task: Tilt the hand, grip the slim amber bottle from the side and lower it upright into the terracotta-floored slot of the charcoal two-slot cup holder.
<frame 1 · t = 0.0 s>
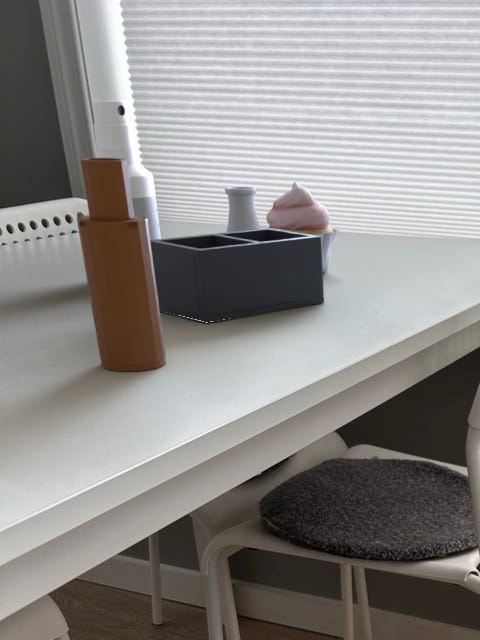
holder: (242, 306, 98), on the table
flask: (248, 284, 110), on the table
bottle: (134, 363, 78), on the table
spray bottle: (135, 283, 108), on the table
cupcake: (301, 272, 118), on the table
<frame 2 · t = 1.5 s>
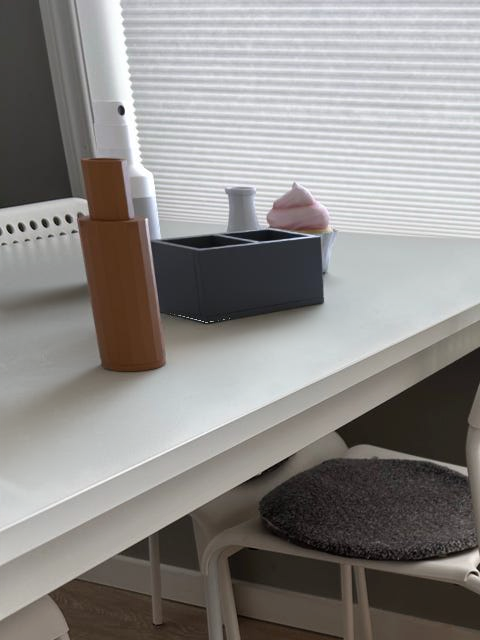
nothing on the table moved.
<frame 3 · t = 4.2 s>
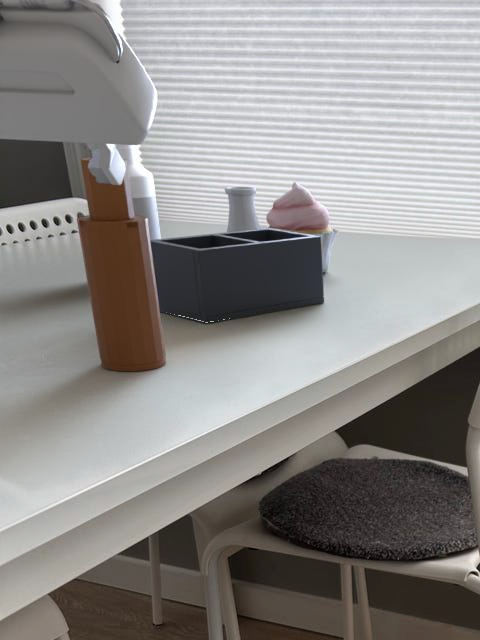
hand: (48, 173, 64), 15 cm above the table, tool tilted 45°, fingers open, 8 cm apart
nothing on the table moved.
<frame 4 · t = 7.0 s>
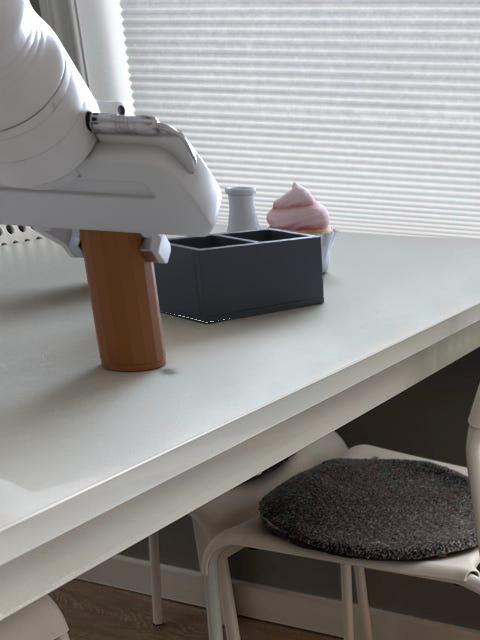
hand: (121, 253, 74), 8 cm above the table, tool tilted 45°, fingers closed on bottle, 5 cm apart
bottle: (134, 363, 78), on the table, touching gripper
everything else where it was.
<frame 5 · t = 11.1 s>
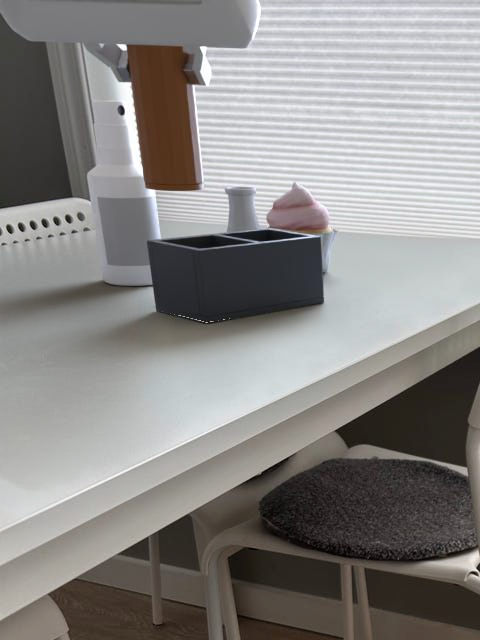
hand: (165, 78, 80), 20 cm above the table, tool tilted 45°, fingers closed on bottle, 5 cm apart
bottle: (174, 188, 84), point 12 cm above the table, touching gripper
everything else where it was.
when the fingers open (9 cm above the table, at t = 15.6 s): bottle stays where it is, resting on holder.
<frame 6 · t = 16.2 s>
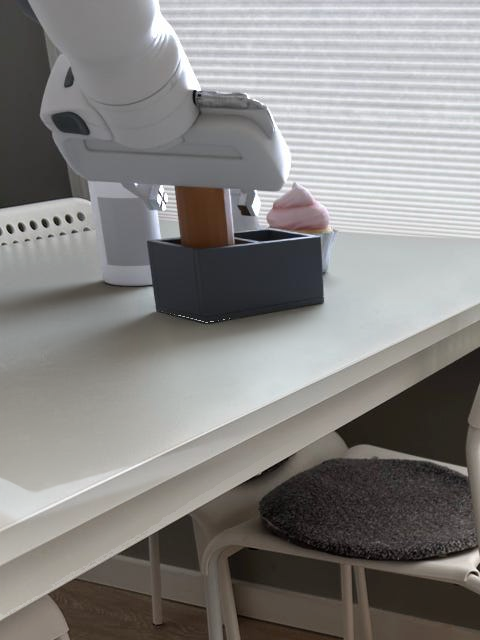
hand: (205, 207, 92), 10 cm above the table, tool tilted 45°, fingers open, 8 cm apart
bottle: (214, 303, 95), point 1 cm above the table, touching holder
everything else where it was.
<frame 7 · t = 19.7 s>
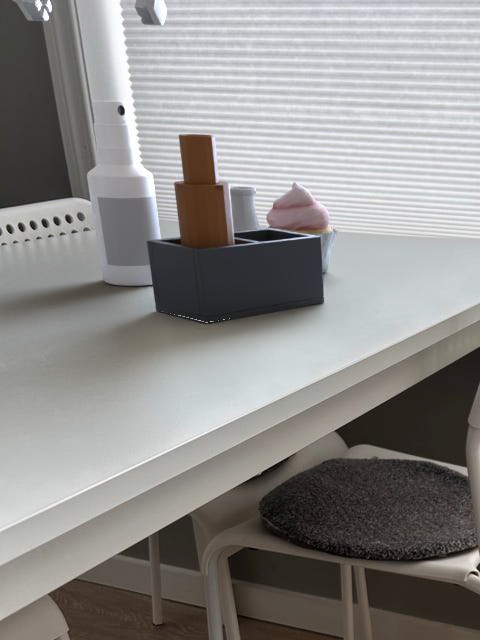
hand: (98, 16, 73), 24 cm above the table, tool tilted 45°, fingers open, 8 cm apart
nothing on the table moved.
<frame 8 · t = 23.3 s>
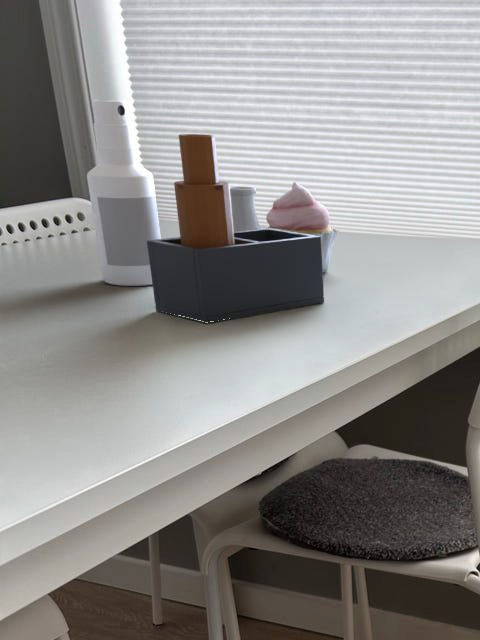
nothing on the table moved.
at the end: bottle 0.1 cm from the target spot in the holder, point 0.8 cm above the holder's base; bottle tilted 0°; the gripper is holding nothing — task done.
